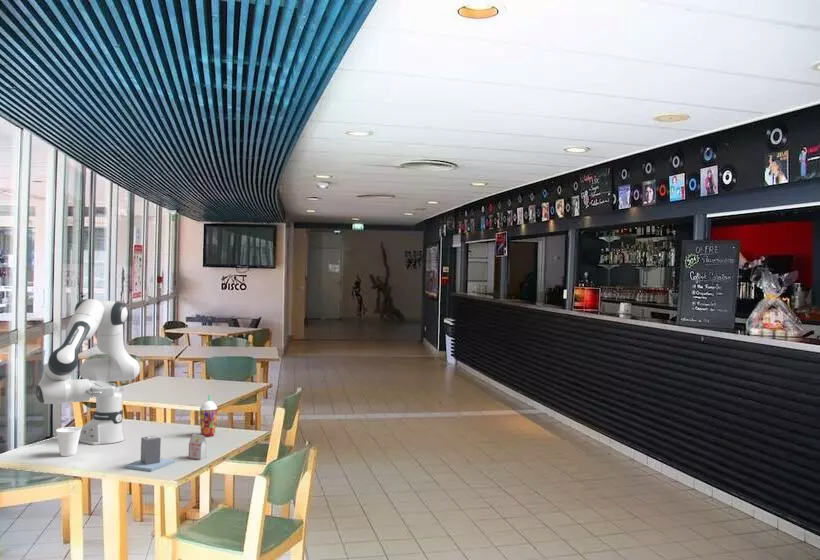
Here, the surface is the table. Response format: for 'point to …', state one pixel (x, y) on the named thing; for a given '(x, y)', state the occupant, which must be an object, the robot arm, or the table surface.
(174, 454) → the table surface
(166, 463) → the panel
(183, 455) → the table surface
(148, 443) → the tall gray block
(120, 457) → the table surface
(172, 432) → the table surface
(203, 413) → the smoothie
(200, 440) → the white paper bag
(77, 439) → the cup
